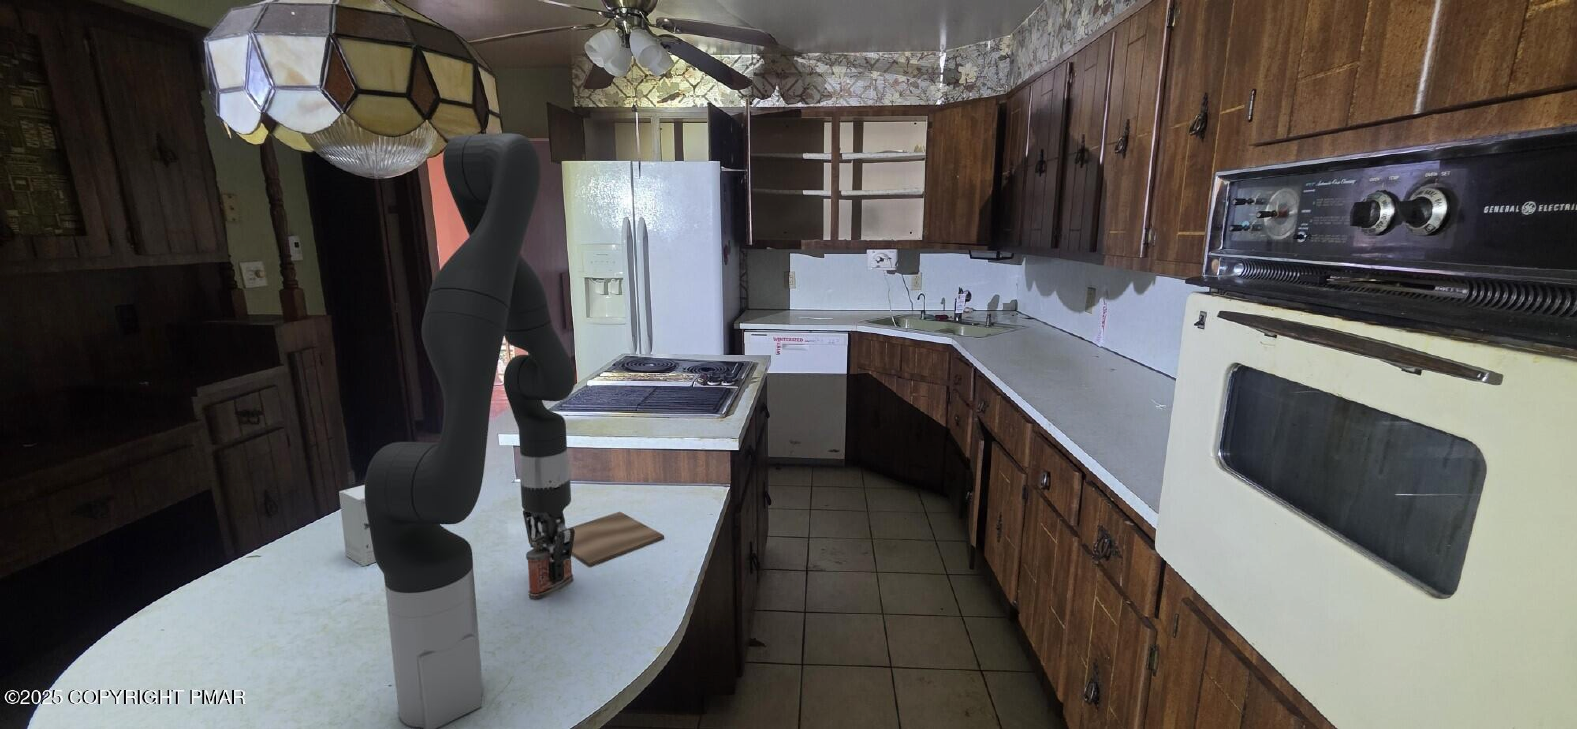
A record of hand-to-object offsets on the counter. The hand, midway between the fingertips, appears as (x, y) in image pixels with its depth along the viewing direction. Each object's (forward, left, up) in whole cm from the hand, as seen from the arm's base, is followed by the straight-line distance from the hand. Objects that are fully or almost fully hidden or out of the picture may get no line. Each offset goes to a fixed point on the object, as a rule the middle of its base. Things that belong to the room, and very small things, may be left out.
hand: (550, 575), depth 104 cm
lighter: (0, 0, -2) cm, 2 cm away
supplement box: (+34, +17, -3) cm, 38 cm away
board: (+10, -16, -2) cm, 19 cm away
